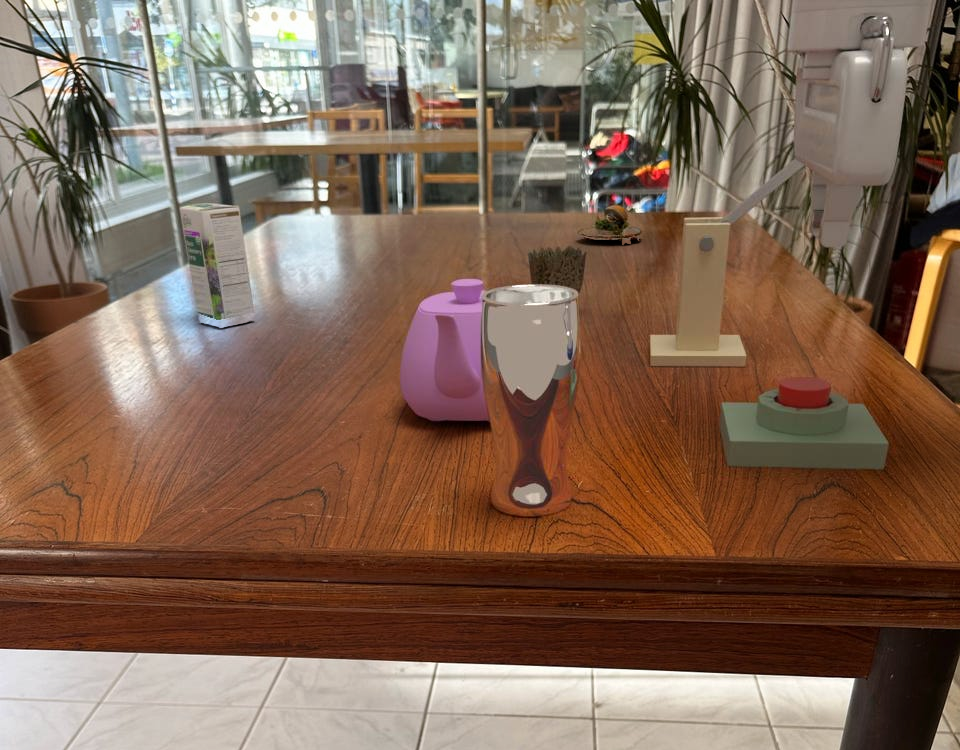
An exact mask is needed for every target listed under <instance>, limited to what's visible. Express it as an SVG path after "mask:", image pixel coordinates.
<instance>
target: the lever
mask: <svg viewBox="0 0 960 750" xmlns="http://www.w3.org/2000/svg"><path fill="white" fill-rule="evenodd" d="M804 167H806V166H805V165H803V164H802V163H800V162H799V161H797V160H796V158H795V157H794V159H792V160H791V161H790V162H789V163H788V164H786V166H784V167H783V168H782V169H780V170H779V171H778V172H776V174H775V175H773V176H772V177H771V178H770V179H768V180H767V181H766V182H764V183H763V184H762V185H761V186H760V187H758V188H757V189H756V190H755V191H753V193H751V194H749V196H747V197H746V198H745V199H744V200H743V201H741V202H740V203H739V204H738V205H736V206H735V207H734V208H732V210H730V211H729V212H728V213H727V214H725V215H724V216H722V217H723V218H722V219H721V220H720V221H718V222H717V223H730V227H732V225H734V224H735V223H736V222H738V221H739V220H740V219H742V217H744V216H745V215H746V214H747V213H749V212H750V211H751V210H752V209H754V208H755V207H756V206H758V204H760V203H761V202H762V201H763V200H764V199H766V198H767V197H768V196H770V195H771V194H772V193H773V192H774V191H775V190H777V189H778V188H780V187H781V186H782V185H783V184H784V183H785V182H787V181H788V180H789V179H790V178H792V177H793V176H794V175H795V174H797V173H798V172H799V171H801V170H802V169H803V168H804ZM705 223H712V222H711V221H710V220H708V221H706V222H705Z"/></svg>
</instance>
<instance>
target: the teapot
mask: <svg viewBox="0 0 960 750" xmlns="http://www.w3.org/2000/svg"><path fill="white" fill-rule="evenodd" d="M483 287H484V281H483V280H481V279H477V278H460V279H457V280H454V281H452V282H451V288H452V291H448V292H442V293H441V292H440V293H437V294H434V295H431V296H428V297H427V298H425V299H424V300H422V301H421V302H420V304H419V305H418V307H417V309H416V311H415V313H414V316H413V318H412V321H411V324H410V326H409V328H408V329H409V330H408V332H407V335H406V338H405V341H404V345H403V349H402V353H401V360H400V367H399V388H400V391H401V395H402V397H403V399H404V400H405V401H406V403H407V405H408V406H409V407H410V409H411V410H412V411H413V412H414V414H416V415H417V416H418V417H421V418H423V419H424V418H425V419H427V420H429V421H432V422H442V421H444V422H445V421H458V422H459V421H461V422H463V421H464V422H468V421H469V422H472V421H473V422H475V421H477V422H479V421H481V422H483V421H485V422H488V423H490V421H489V416H488V411H487V406H486V401H485V396H484V390H483V383H482V377H481V361H480V331H481V311H482V298H481V296H482V294H483V293H484V292H486V291H487V290H485V289H483Z"/></svg>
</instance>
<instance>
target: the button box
mask: <svg viewBox="0 0 960 750" xmlns="http://www.w3.org/2000/svg"><path fill="white" fill-rule="evenodd" d="M778 391H779V388H775V389H769V390H766V391H765V392H763V393H762V394H759V395H758V397H757V402H732V401H731V402H727V401H726V402H725V401H724V402H721V404H720V413H719V423H718V428H719V433H720V436H721V441H722V447H723V451H724V457H725V461H726V466H727V467H743V468H745V467H748V468H790V469H791V468H797V469H845V470H847V469H848V470H850V469H851V470H884V469H885V466H886V460H887V456H888V450H889V446H890V443H889V441H888V440H887V438H886V436H885V435H884V433H883V432H882V431H881V428H880V427H879V425H878V424H877V422H876V421H875V419H874V418H873V416H872V414H871V413H870V412H869V410H868V408H867V407H866V405H865V404H864V403H849V402H848V400H847V399H846V397H845V396H843V395H841V394H838V393H836V392H833V391H831V390H830V397H829V403H828V406H827V407H822V408H816V409H799V408H793V407H787V406H783V405H781V404H779V403H777V399H778Z"/></svg>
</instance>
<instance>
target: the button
mask: <svg viewBox="0 0 960 750" xmlns="http://www.w3.org/2000/svg"><path fill="white" fill-rule="evenodd" d="M778 389H779V391H778V399H777V403H779V404H781V405H783V406H787V407H793V408H799V409H816V408H822V407H827V406H828V403H829V397H830V391H831V390H832V383H831V382H830V381H828V380H826V379H823V378H819V377H813V376H790V377H786V378H783V379H781V380H780V381H779V385H778Z"/></svg>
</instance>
